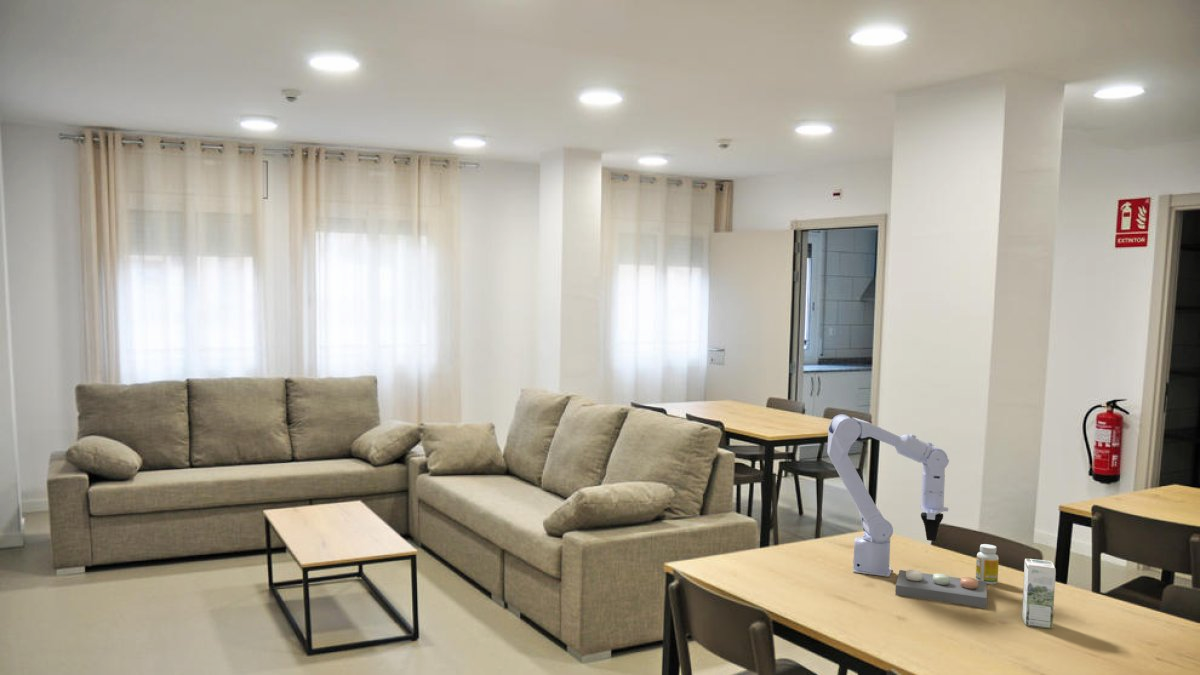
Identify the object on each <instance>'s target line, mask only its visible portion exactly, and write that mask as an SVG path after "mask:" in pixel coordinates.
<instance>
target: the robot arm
mask: <svg viewBox="0 0 1200 675" xmlns="http://www.w3.org/2000/svg"><path fill="white" fill-rule="evenodd" d="M827 432H828V433H827V436H828V437H827V449H826V451H827V456H828V457H829V460H830V461H831V463H832V465H833V466H834V468H835V470H836V472H837V474H838V475H839V477H840V480H841V481H842V483H843V485H844V487H845V489H846V490H847V492H848V494H849V496H850V497H851V500H852V502H853V503H854V505H855V507H856V508H857V510H858V514H859V516H860V518H861V526H862V529H863V530H864V532H863V534H862V537H859V536H856V537H855V538H854V545H853V546H854V547H853V557H852V558H853V560H852V561H853V562H852V563H853V567H852V568H853V569H852V572H853V573H859V574H865V575H871V576H872V575H873V576H880V577H887V578H890V576H891V573H892V567H891V566H890V559H891V538H892V536H893V533H894V527H893V526H892V523H891V522H890V521H888V520H887V519H886V518H885V517H884V516H883V514H882V513H881V511H880V509H878V507H877V506H876V503H875V502H874V500H873V498H872V496H871V495H870V493H869V491H868V489H867V488H866V485H865V483H864V482H863V480H862V479H861V477H860V475H859V473H858V471H857V469H856V467H855V466H854V464H853V462H852V460H851V458H850V457H849V451H850V450H851V447H852V445H853V444H854V443H855V441H856V440H857V439H858V438H860V439H866V438H873V439H875V440H877V441H880V442H882V443H886V444H887V445H890V446H892V447H894V448H895V451H896V452H897V454H899V455H901V456H904V457H906V458H908V459H910V460H913V461H915V462H917V463H920V464H921V463H922V472H921V473H922V476H921V477H922V478H921V499H920V500H921V502H920V504H921V505H920V506H919V507H920V509H921V511H922V512H921V513H920V518H921V520H922V521H923V522H922V523H923V525H924V530H925V536H926V540H927V541H931V542H936V540H937V535H938V530H939V527H940V524H941V522H942V521H943V519H944V512H949V508H948V507H945V485H946V484H945V482H946V480H945V479H946V478H945V477H946V475H945V471H946V468H947V466H948V465H949V463H950V459H949V458H948V455H947V452H945V450H943V449H941V448H939V447H937V446H935V445H934V444H933V443H932V442H930V441H927V442H926V441H924V440H922V439H921V440H920V439H919V438H917V435H915V434H912V433H910V434H908V433H907V434H903V435H900V436H899V435H897V434H894V433H893V432H891V431H889V430H887V429H884V428H882V427H880V426H878V425H875V424H873V423H871V422H869V421H866V420H863V419H859V418H856V417H853V416H852V417H850V416H849V415H847V414H844V413H841V414H838V415H835V416H834V417H833V418H832V419H831V421H830V422H829V426H828V427H827Z"/></svg>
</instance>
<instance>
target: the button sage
mask: <svg viewBox="0 0 1200 675" xmlns="http://www.w3.org/2000/svg"><path fill="white" fill-rule="evenodd" d="M950 577H951V576H950V575H948V574H945V573H933V582H934V583H937V585H944V586H945V585H948V584H950Z"/></svg>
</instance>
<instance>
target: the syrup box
mask: <svg viewBox="0 0 1200 675" xmlns="http://www.w3.org/2000/svg"><path fill="white" fill-rule="evenodd" d="M1023 568H1024V569H1023V570H1024V571H1023V588H1022V590H1023V591H1022V593H1023V594H1022V610H1021V618H1022V620H1023V623H1024V624H1025V626H1027V627H1033V628H1034V627H1035V628H1043V629H1047V630H1048V629H1049V630H1053V626H1054V606H1055V589H1056V576H1057V575H1056V574H1057V573H1056V570H1057V569H1056V567H1055V565H1054V563H1053V561H1051V560H1044V559H1033V558H1024V566H1023Z"/></svg>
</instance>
